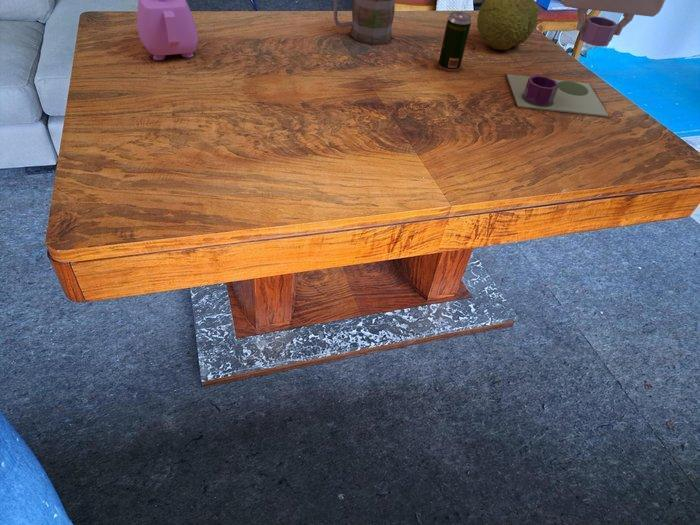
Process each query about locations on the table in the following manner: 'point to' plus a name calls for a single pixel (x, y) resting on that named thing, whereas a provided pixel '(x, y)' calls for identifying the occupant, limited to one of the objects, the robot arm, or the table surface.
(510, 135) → the table surface
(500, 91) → the table surface
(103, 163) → the table surface
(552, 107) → the mat
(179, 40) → the pink rounded piece
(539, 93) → the plum dish
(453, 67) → the beer can
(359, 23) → the mug
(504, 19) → the fruit
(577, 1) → the robot arm
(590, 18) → the lavender dish
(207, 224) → the table surface
